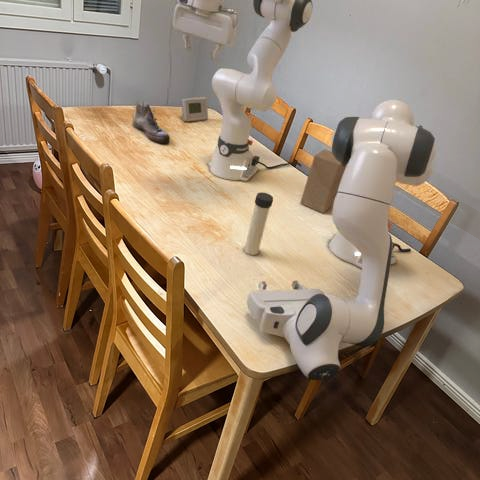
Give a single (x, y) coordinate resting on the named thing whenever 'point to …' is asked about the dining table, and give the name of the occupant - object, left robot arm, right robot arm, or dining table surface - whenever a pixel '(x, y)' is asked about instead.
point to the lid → (264, 200)
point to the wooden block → (322, 181)
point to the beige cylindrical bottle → (256, 230)
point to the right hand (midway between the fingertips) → (278, 282)
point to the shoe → (149, 124)
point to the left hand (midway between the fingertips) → (200, 54)
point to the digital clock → (194, 109)
